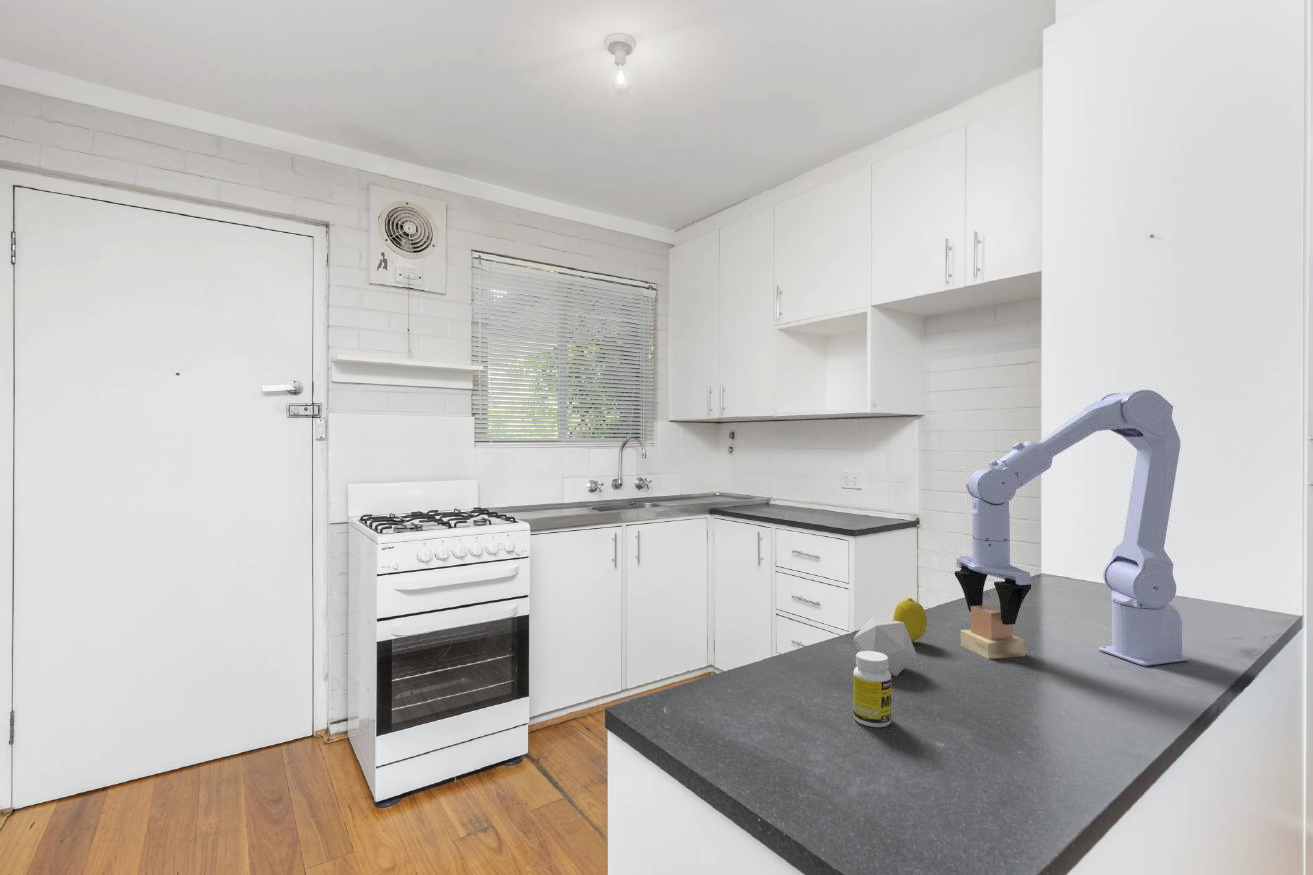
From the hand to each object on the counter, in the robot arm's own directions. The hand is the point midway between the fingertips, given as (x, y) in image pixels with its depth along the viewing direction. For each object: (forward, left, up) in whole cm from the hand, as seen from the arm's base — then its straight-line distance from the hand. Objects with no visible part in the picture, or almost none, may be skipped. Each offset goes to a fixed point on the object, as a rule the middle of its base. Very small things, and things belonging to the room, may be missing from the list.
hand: (991, 617), depth 107 cm
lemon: (+11, -7, -6) cm, 14 cm away
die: (+23, +3, -6) cm, 24 cm away
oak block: (0, 0, -6) cm, 6 cm away
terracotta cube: (0, 0, -3) cm, 3 cm away
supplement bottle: (+35, +18, -6) cm, 40 cm away
